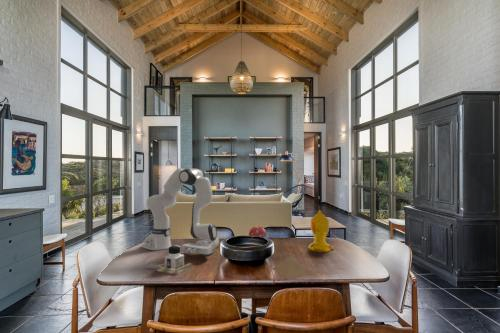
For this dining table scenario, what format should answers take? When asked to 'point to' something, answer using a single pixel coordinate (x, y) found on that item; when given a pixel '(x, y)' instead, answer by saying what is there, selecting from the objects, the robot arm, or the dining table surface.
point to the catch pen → (173, 271)
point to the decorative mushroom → (257, 231)
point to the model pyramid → (291, 268)
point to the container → (174, 258)
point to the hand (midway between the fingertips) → (188, 251)
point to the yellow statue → (319, 233)
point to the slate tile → (152, 266)
